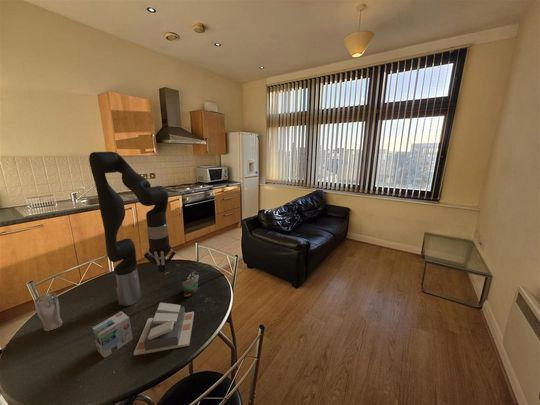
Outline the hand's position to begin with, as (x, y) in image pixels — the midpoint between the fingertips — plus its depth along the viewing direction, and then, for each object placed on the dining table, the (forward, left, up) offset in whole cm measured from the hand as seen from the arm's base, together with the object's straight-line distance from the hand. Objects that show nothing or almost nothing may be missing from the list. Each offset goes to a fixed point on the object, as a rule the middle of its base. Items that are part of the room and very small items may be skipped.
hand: (162, 271), depth 95 cm
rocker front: (+1, -13, -19) cm, 23 cm away
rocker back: (+1, -1, -19) cm, 19 cm away
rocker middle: (+1, -7, -19) cm, 20 cm away
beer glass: (-49, +7, -25) cm, 56 cm away
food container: (+9, +19, -25) cm, 33 cm away
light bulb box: (-18, -9, -25) cm, 32 cm away
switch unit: (+1, -7, -25) cm, 26 cm away
